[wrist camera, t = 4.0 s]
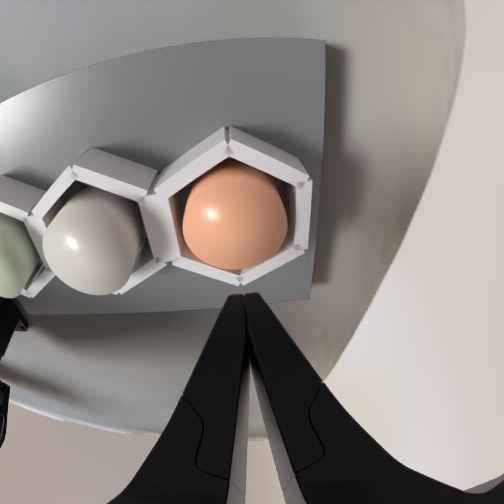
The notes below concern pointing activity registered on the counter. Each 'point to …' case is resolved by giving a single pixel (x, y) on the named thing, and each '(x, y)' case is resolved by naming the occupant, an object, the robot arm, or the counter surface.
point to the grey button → (94, 241)
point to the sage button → (15, 256)
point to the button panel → (170, 163)
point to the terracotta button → (234, 216)
